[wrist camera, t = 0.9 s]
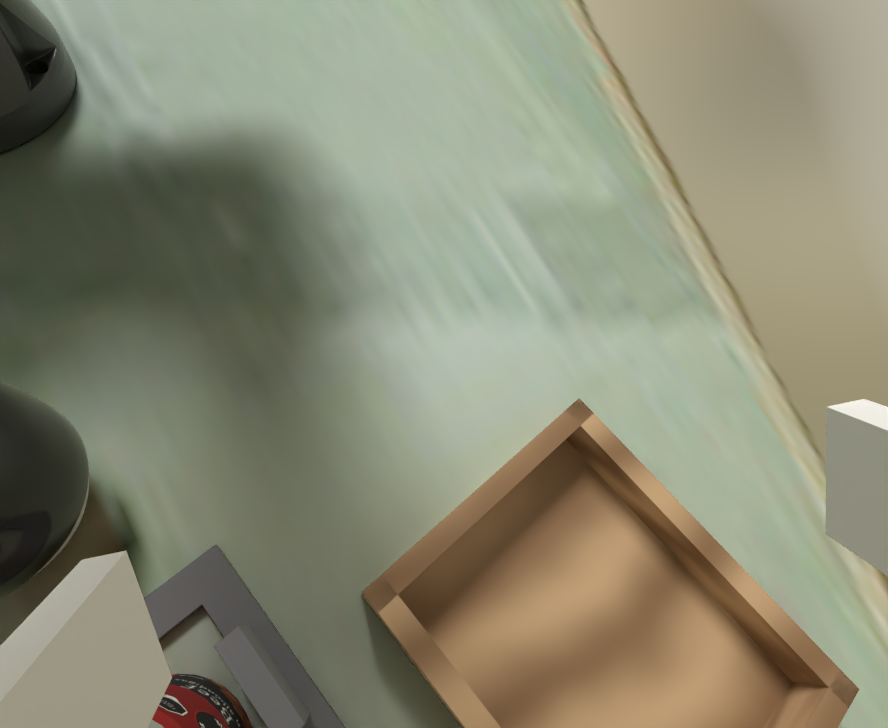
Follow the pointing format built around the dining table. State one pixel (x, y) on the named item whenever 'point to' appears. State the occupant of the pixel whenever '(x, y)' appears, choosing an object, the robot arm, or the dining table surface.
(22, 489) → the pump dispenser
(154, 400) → the dining table surface
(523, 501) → the tray
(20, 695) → the robot arm
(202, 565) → the frame
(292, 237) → the dining table surface
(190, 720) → the canned food
